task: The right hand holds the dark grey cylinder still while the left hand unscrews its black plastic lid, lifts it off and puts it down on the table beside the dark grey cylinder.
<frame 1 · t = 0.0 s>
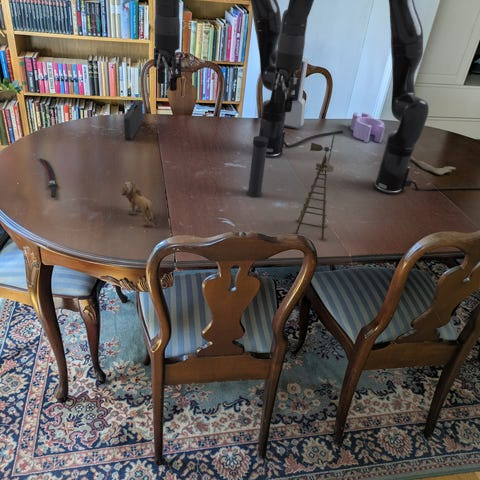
left hand: (166, 86, 148), 29 cm above the table, tool pointing down, fingers open, 8 cm apart
right hand: (282, 107, 141), 29 cm above the table, tool pointing down, fingers open, 8 cm apart
miniature windmill: (309, 230, 139), on the table
lion figurine: (139, 216, 136), on the table
clip: (364, 134, 216), on the table
dark grey cylinder: (254, 194, 155), on the table
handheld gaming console: (134, 131, 193), on the table
lid: (260, 139, 145), point 19 cm above the table, screwed on, not yet turned
electronic device: (288, 125, 216), on the table
sword: (47, 177, 151), on the table
jawbone: (429, 165, 191), on the table
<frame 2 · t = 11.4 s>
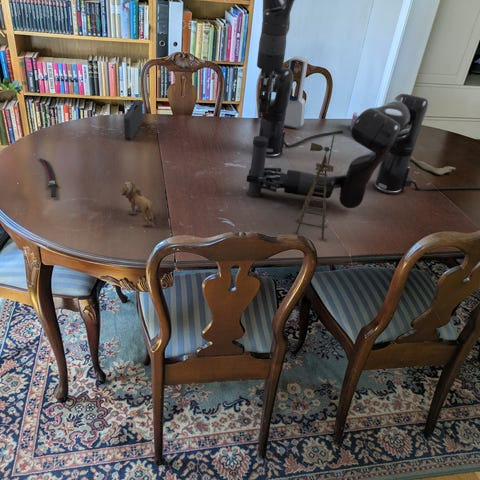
left hand: (264, 108, 139), 29 cm above the table, tool pointing down, fingers open, 7 cm apart
right hand: (248, 175, 152), 6 cm above the table, tool horizontal, fingers closed on dark grey cylinder, 4 cm apart
dark grey cylinder: (254, 194, 155), on the table, touching right hand
everything else where it was.
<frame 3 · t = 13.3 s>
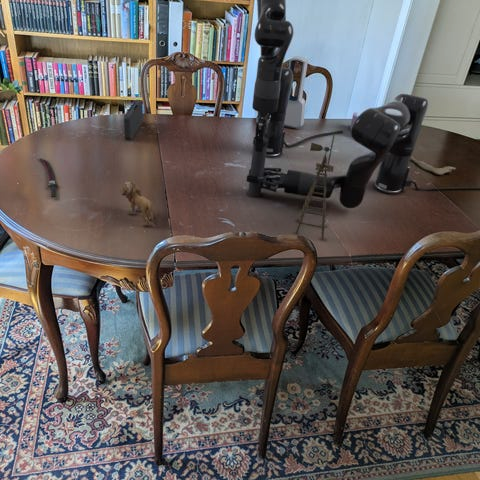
left hand: (259, 148, 146), 16 cm above the table, tool pointing down, fingers closed on lid, 4 cm apart
right hand: (248, 175, 152), 6 cm above the table, tool horizontal, fingers closed on dark grey cylinder, 4 cm apart
dark grey cylinder: (254, 194, 155), on the table, touching right hand
lid: (260, 139, 145), point 19 cm above the table, screwed on, not yet turned, touching left hand
everything else where it was.
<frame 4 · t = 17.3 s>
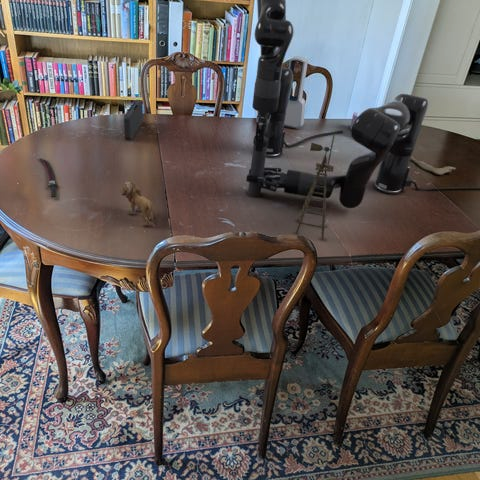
left hand: (259, 147, 146), 16 cm above the table, tool pointing down, fingers closed on lid, 4 cm apart
right hand: (248, 174, 152), 7 cm above the table, tool horizontal, fingers closed on dark grey cylinder, 4 cm apart
dark grey cylinder: (254, 194, 155), on the table, touching right hand
lid: (261, 139, 145), point 19 cm above the table, turned 89° so far, risen 0.1 cm, still on its thread, touching left hand
everything else where it was.
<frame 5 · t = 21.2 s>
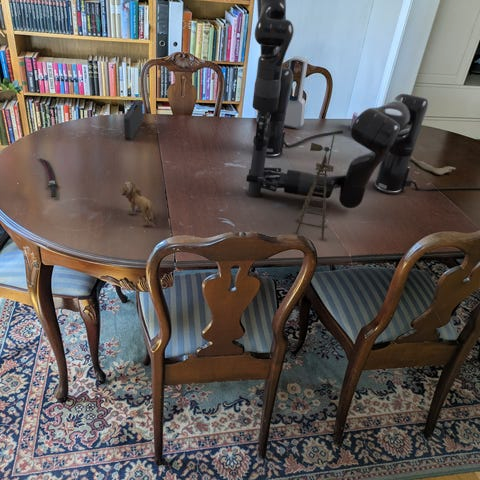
left hand: (260, 147, 146), 16 cm above the table, tool pointing down, fingers closed on lid, 4 cm apart
right hand: (248, 174, 152), 7 cm above the table, tool horizontal, fingers closed on dark grey cylinder, 4 cm apart
dark grey cylinder: (254, 193, 155), on the table, touching right hand
lid: (261, 138, 145), point 19 cm above the table, turned 178° so far, risen 0.3 cm, still on its thread, touching left hand
everything else where it was.
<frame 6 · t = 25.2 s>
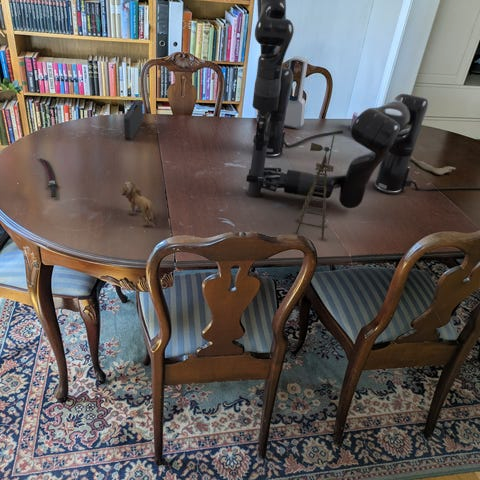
left hand: (260, 146, 146), 17 cm above the table, tool pointing down, fingers closed on lid, 4 cm apart
right hand: (248, 174, 152), 7 cm above the table, tool horizontal, fingers closed on dark grey cylinder, 4 cm apart
dark grey cylinder: (254, 193, 155), on the table, touching right hand
lid: (261, 138, 145), point 19 cm above the table, turned 267° so far, risen 0.4 cm, still on its thread, touching left hand
everything else where it was.
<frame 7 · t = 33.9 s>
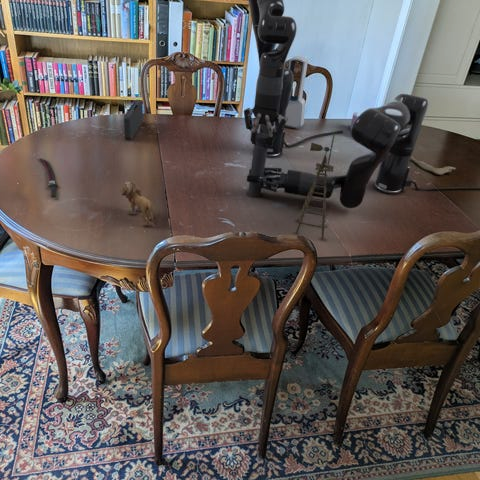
left hand: (261, 145, 146), 17 cm above the table, tool pointing down, fingers closed on lid, 4 cm apart
right hand: (248, 175, 152), 7 cm above the table, tool horizontal, fingers closed on dark grey cylinder, 4 cm apart
dark grey cylinder: (254, 194, 155), on the table, touching left hand, right hand, lid
lid: (262, 136, 144), point 20 cm above the table, off its thread, touching left hand, dark grey cylinder
everything else where it was.
when the left hand's fingers open (1 cm above the table, at t = 40.3 s): lid drops 2 cm, point 2 cm above the table.
when the right hand's fingers open (7 cm above the table, at t = 41.3 s): dark grey cylinder stays where it is, on the table.
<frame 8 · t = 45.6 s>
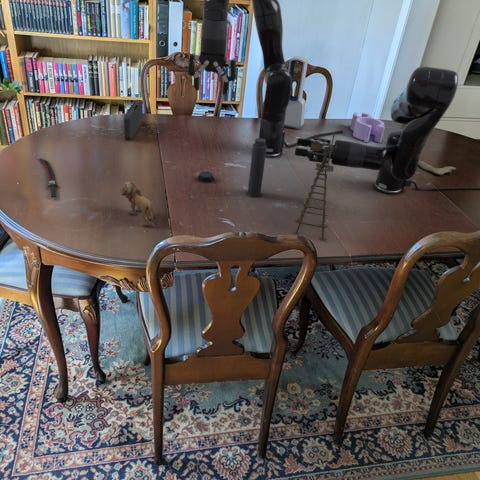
left hand: (210, 91, 145), 30 cm above the table, tool pointing down, fingers open, 8 cm apart
right hand: (296, 146, 144), 19 cm above the table, tool horizontal, fingers open, 8 cm apart
dark grey cylinder: (253, 194, 155), on the table
lid: (206, 175, 160), point 2 cm above the table, off its thread
everything else where it was.
at the end: lid came off its thread; lid point 1.6 cm above the table; the left hand is holding nothing; the right hand is holding nothing; dark grey cylinder tilted 0°; dark grey cylinder moved 0.1 cm from its start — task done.
